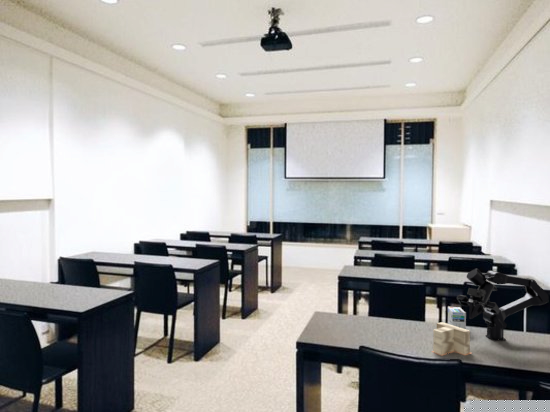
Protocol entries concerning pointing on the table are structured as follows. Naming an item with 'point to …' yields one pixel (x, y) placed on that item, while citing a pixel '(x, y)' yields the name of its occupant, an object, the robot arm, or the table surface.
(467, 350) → the beige stepped block
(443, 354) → the t mark
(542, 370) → the table surface
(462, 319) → the light bulb box
